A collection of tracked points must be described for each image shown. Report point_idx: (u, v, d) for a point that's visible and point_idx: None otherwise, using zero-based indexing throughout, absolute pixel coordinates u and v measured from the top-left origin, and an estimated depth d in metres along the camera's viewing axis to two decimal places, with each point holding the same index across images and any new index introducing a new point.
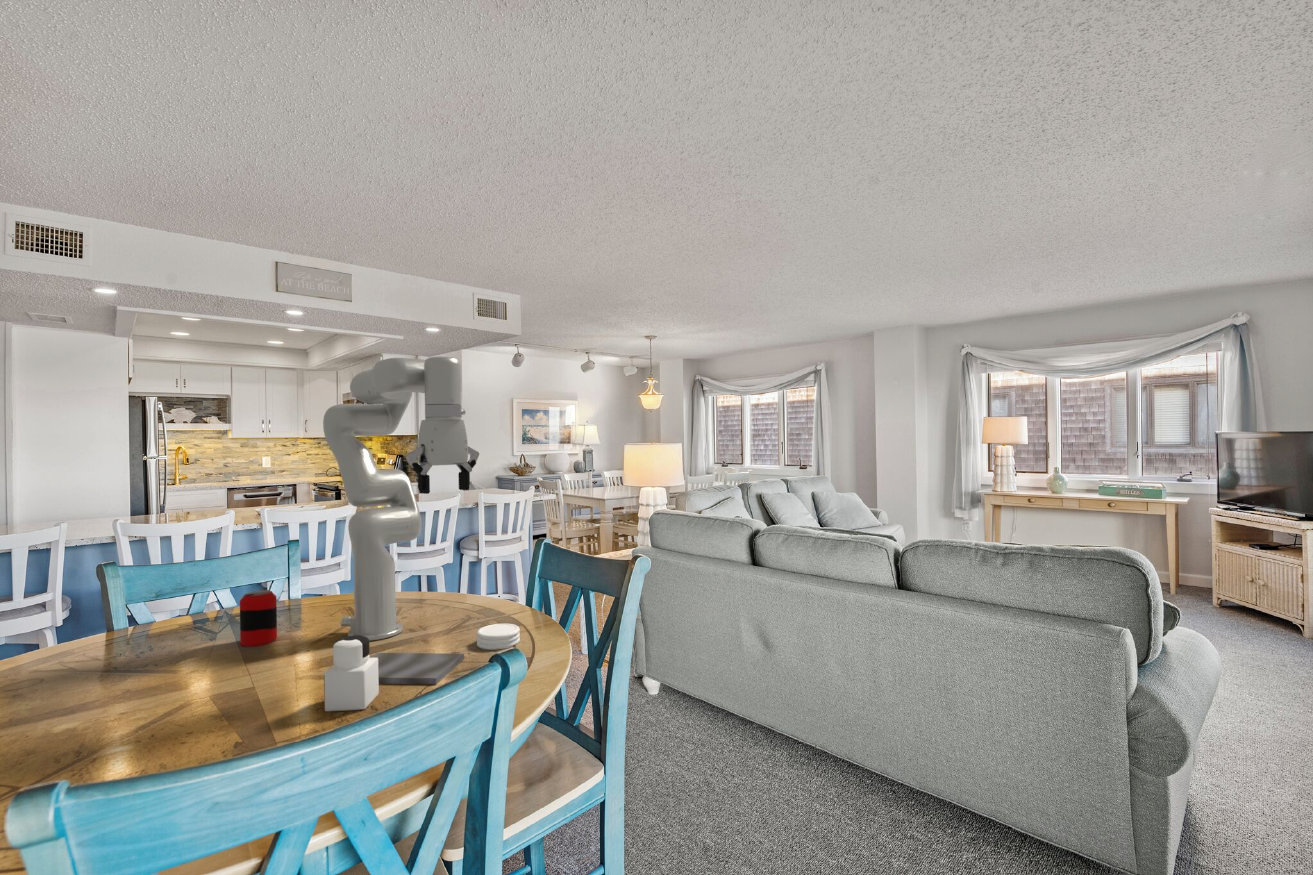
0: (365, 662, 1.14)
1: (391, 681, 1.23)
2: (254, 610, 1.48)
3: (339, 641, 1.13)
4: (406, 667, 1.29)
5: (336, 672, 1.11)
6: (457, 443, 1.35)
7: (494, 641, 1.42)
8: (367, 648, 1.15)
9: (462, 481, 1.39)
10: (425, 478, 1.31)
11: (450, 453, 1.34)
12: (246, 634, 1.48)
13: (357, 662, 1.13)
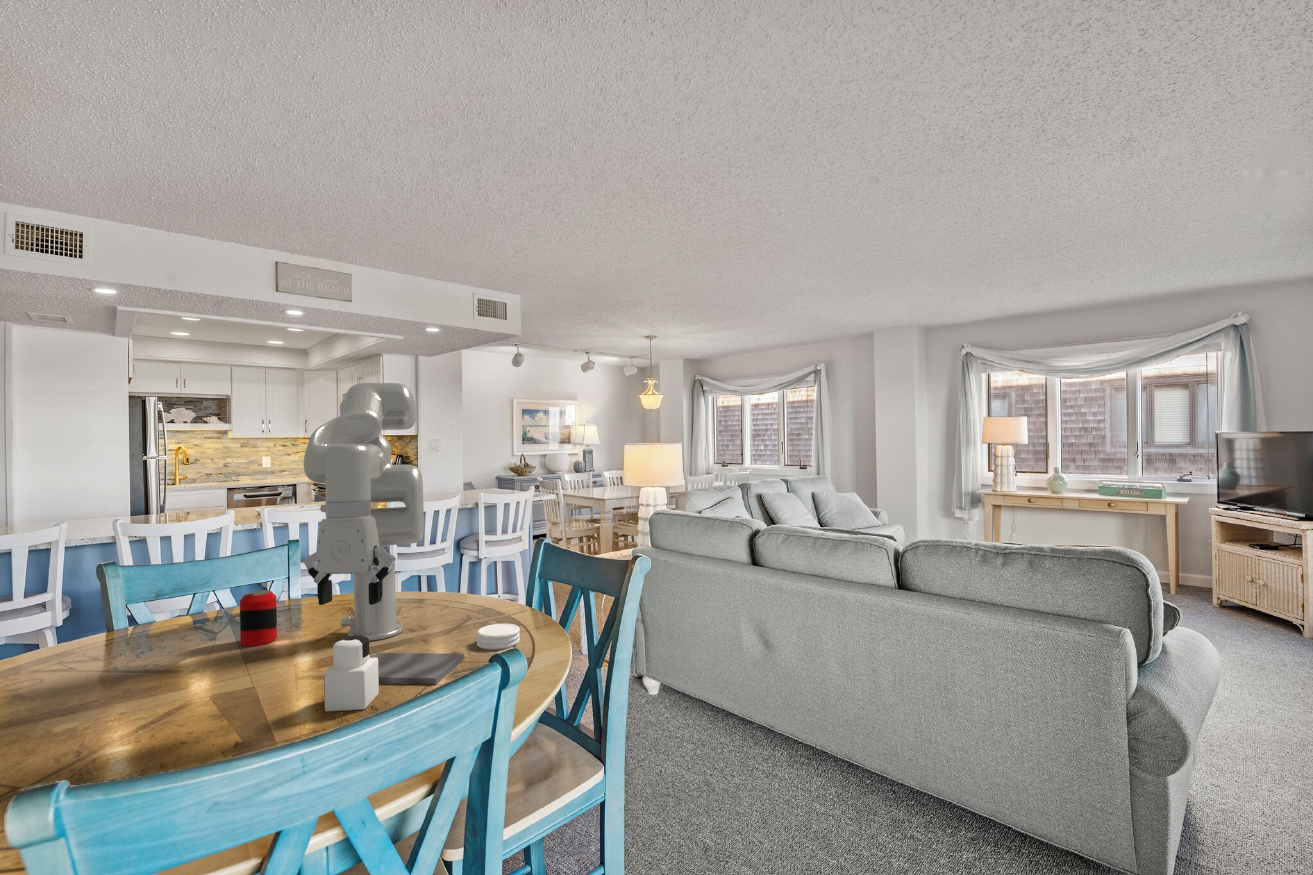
0: (365, 662, 1.14)
1: (391, 681, 1.23)
2: (254, 610, 1.48)
3: (339, 641, 1.13)
4: (406, 667, 1.29)
5: (336, 672, 1.11)
6: None
7: (494, 641, 1.42)
8: (367, 648, 1.15)
9: (327, 592, 1.15)
10: None
11: None
12: (246, 634, 1.48)
13: (357, 662, 1.13)
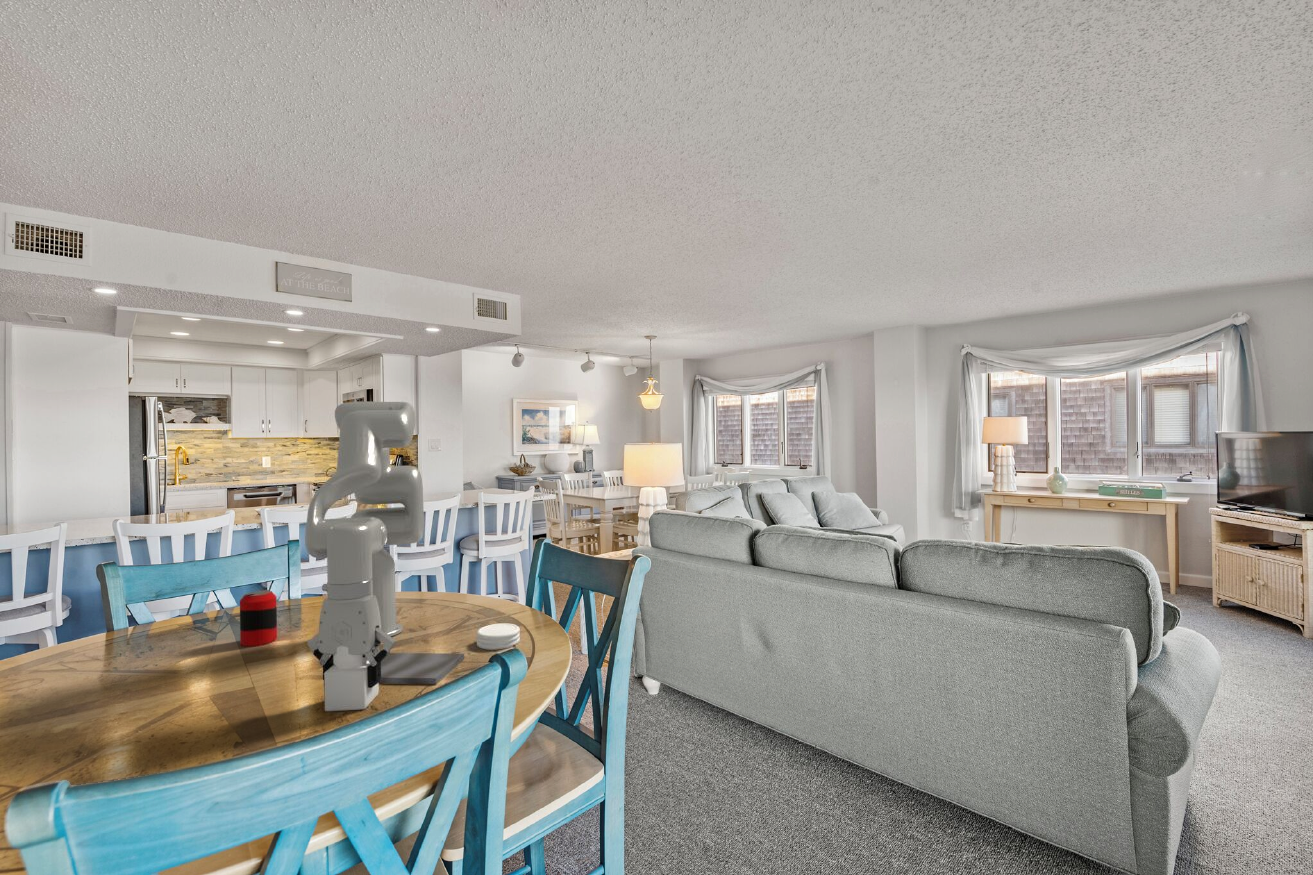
0: (365, 662, 1.14)
1: (391, 681, 1.23)
2: (254, 610, 1.48)
3: None
4: (406, 667, 1.29)
5: (336, 671, 1.11)
6: None
7: (494, 641, 1.42)
8: None
9: None
10: None
11: None
12: (246, 634, 1.48)
13: (357, 662, 1.13)
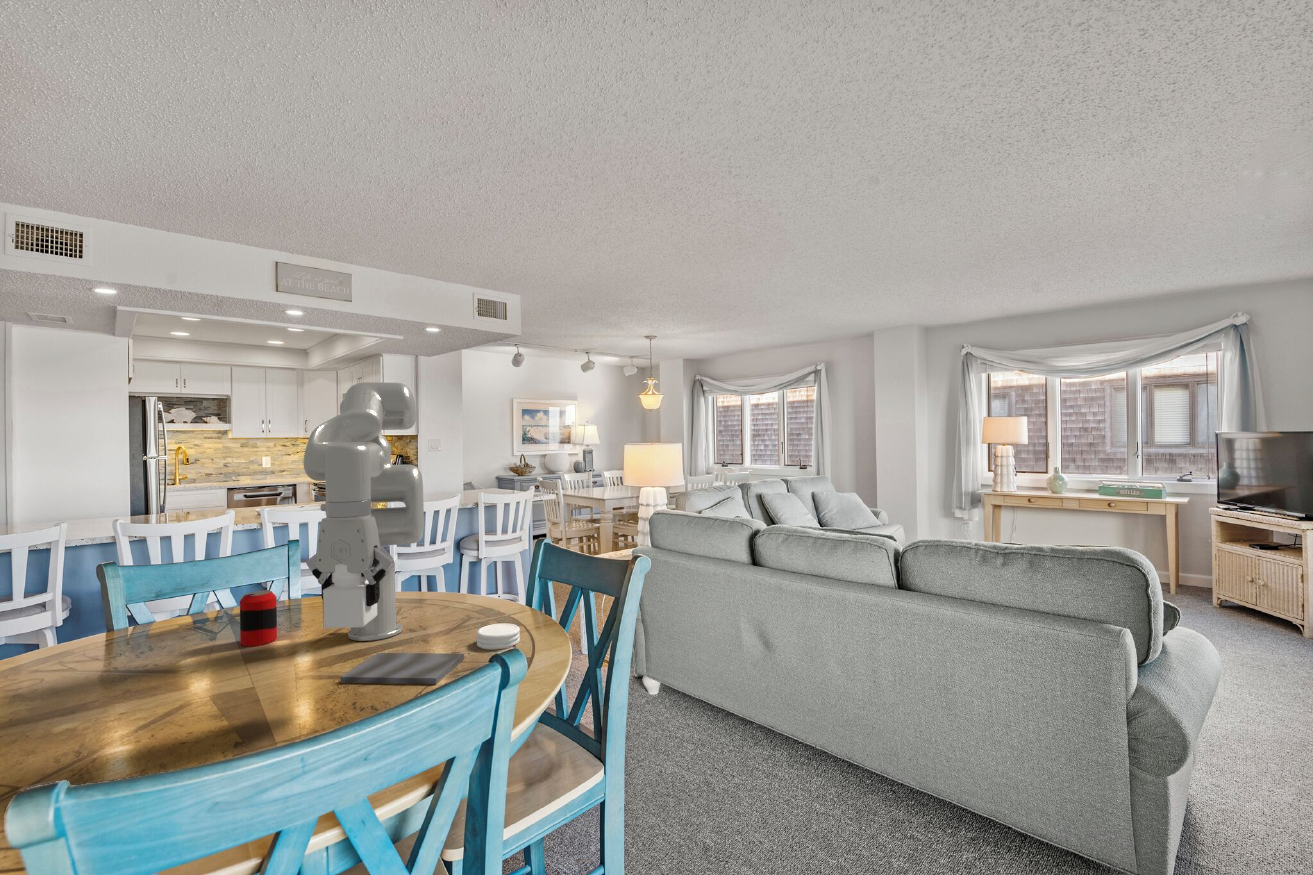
0: (364, 582, 1.15)
1: (391, 681, 1.23)
2: (254, 610, 1.48)
3: None
4: (406, 667, 1.29)
5: (334, 589, 1.11)
6: None
7: (494, 641, 1.42)
8: None
9: None
10: None
11: None
12: (246, 634, 1.48)
13: (356, 580, 1.13)
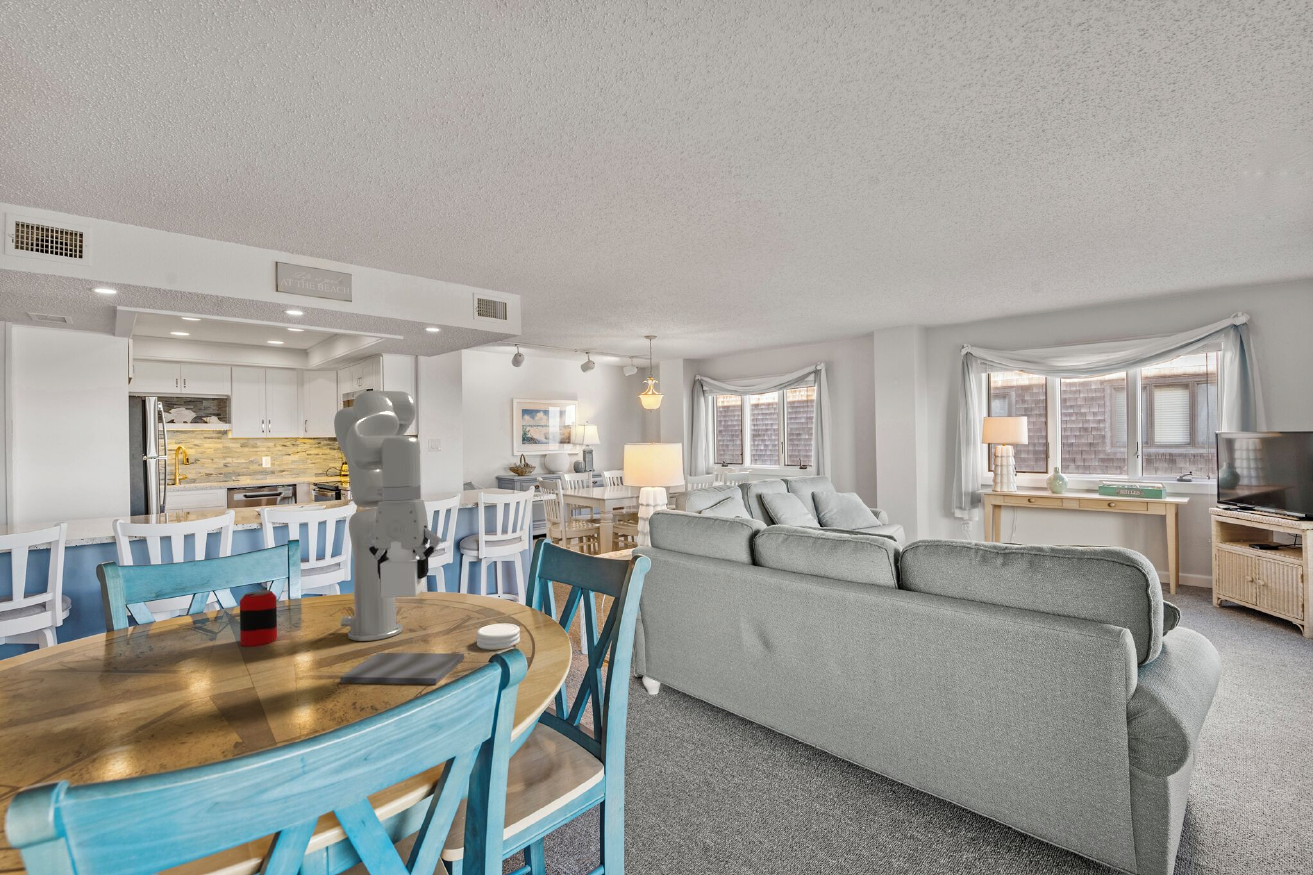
0: (414, 557, 1.30)
1: (391, 681, 1.23)
2: (254, 610, 1.48)
3: None
4: (406, 667, 1.29)
5: (390, 563, 1.27)
6: None
7: (493, 641, 1.42)
8: None
9: None
10: None
11: None
12: (246, 634, 1.48)
13: (408, 556, 1.28)
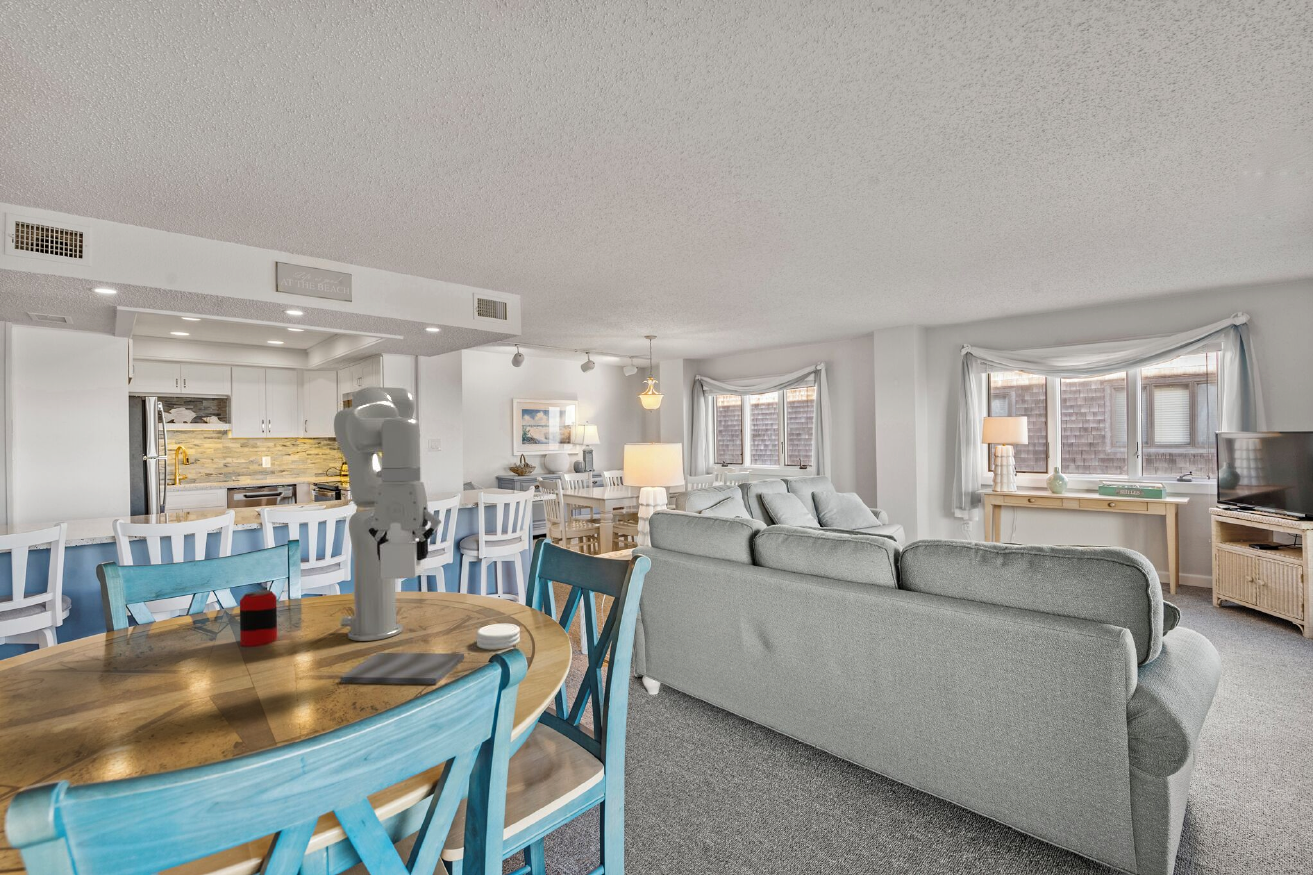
0: (414, 539, 1.30)
1: (391, 681, 1.23)
2: (254, 610, 1.48)
3: None
4: (406, 667, 1.29)
5: (390, 544, 1.27)
6: None
7: (493, 641, 1.42)
8: None
9: None
10: None
11: None
12: (246, 634, 1.48)
13: (408, 537, 1.28)
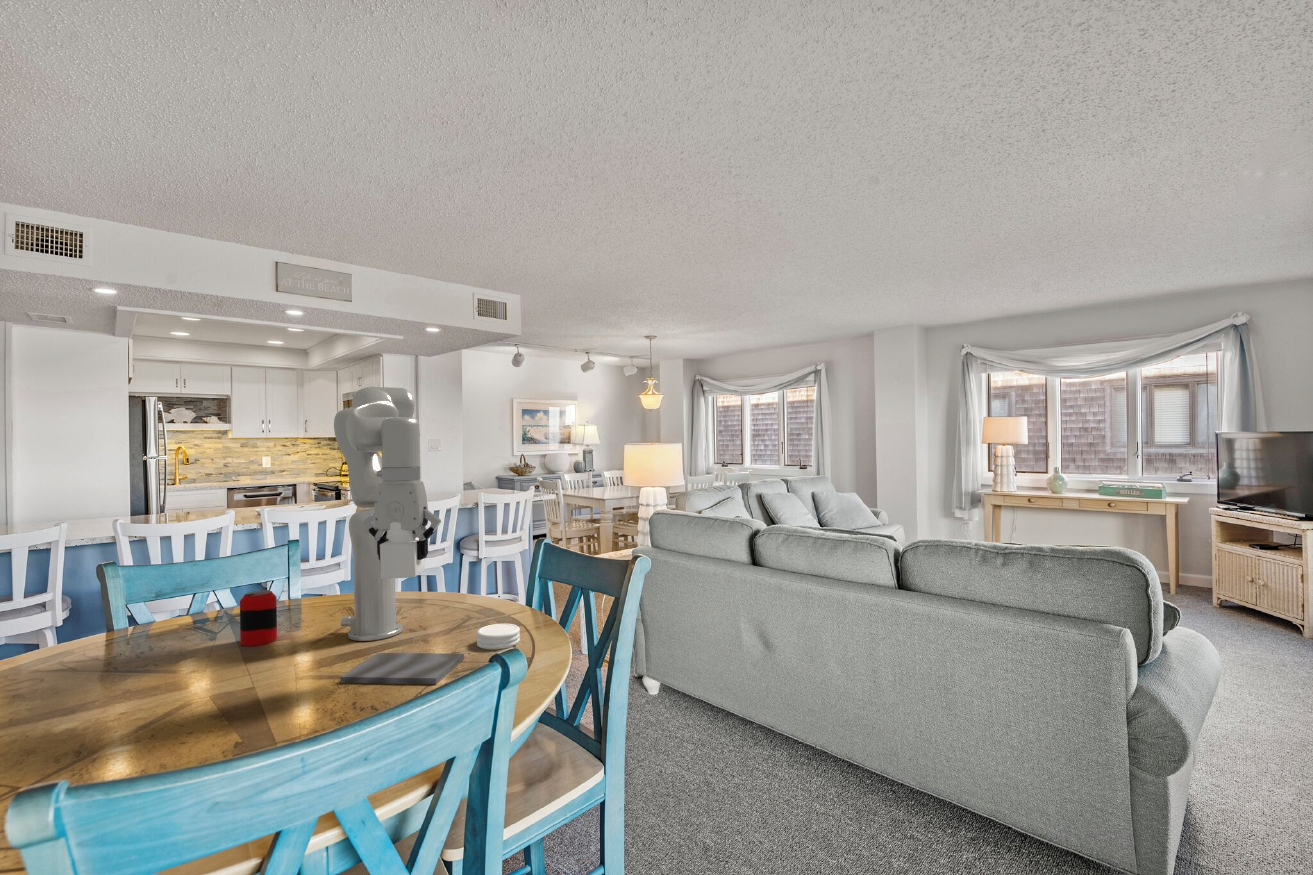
0: (414, 538, 1.30)
1: (391, 681, 1.23)
2: (254, 610, 1.48)
3: None
4: (406, 667, 1.29)
5: (390, 544, 1.27)
6: None
7: (493, 641, 1.42)
8: None
9: None
10: None
11: None
12: (246, 634, 1.48)
13: (408, 537, 1.28)
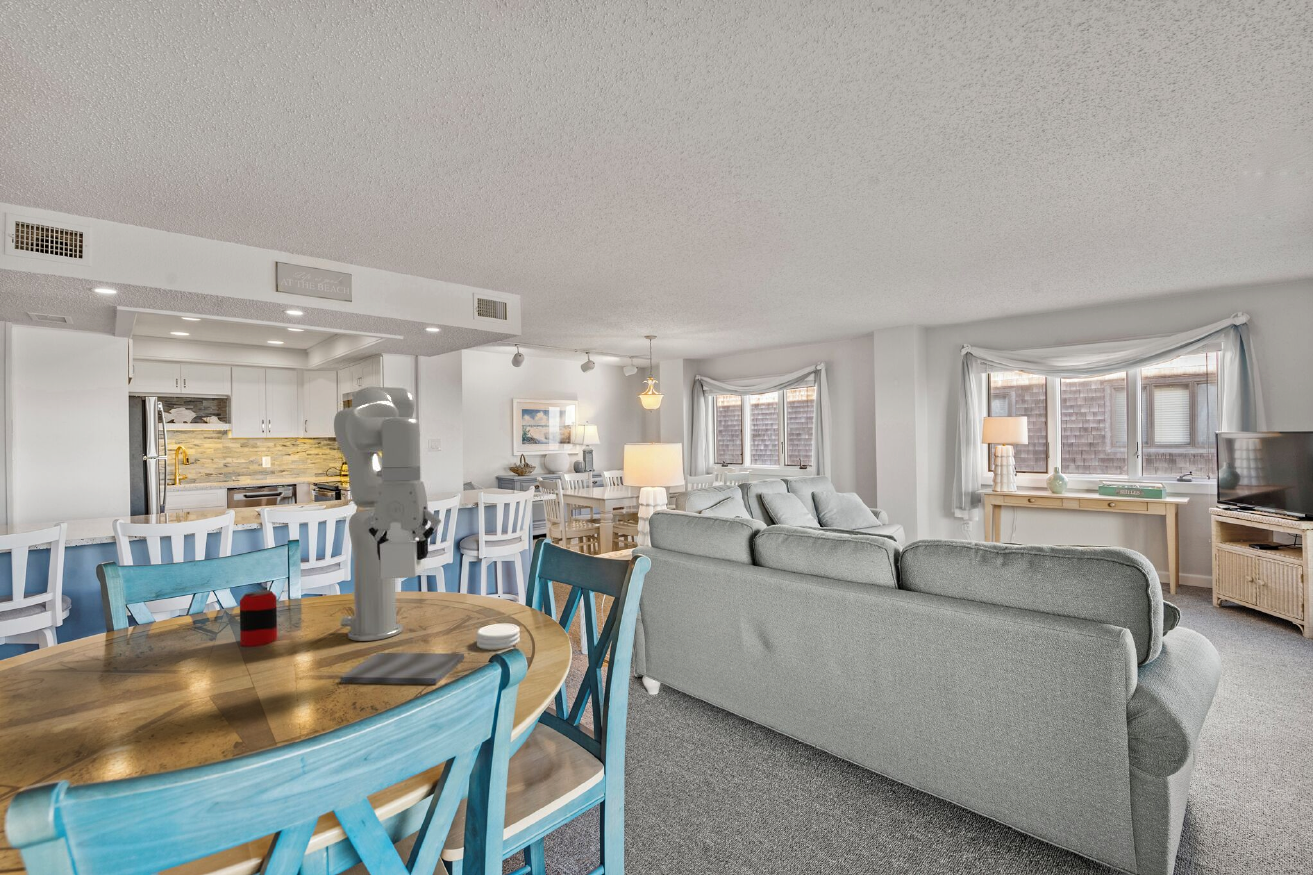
0: (414, 538, 1.30)
1: (391, 681, 1.23)
2: (254, 610, 1.48)
3: None
4: (406, 667, 1.29)
5: (390, 544, 1.27)
6: None
7: (493, 641, 1.42)
8: None
9: None
10: None
11: None
12: (246, 634, 1.48)
13: (408, 537, 1.28)
